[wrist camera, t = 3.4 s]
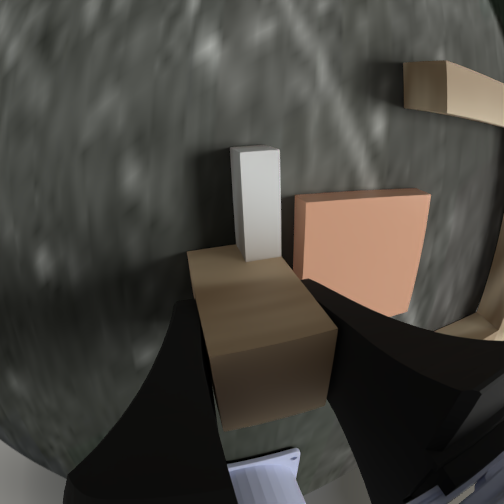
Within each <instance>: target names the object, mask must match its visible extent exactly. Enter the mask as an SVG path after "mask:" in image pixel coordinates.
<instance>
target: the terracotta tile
mask: <svg viewBox="0 0 504 504" xmlns="http://www.w3.org/2000/svg"><path fill="white" fill-rule="evenodd" d="M430 198H431V194H428V193H426V192H424V191H421V190H419V189H417V188H408V189H383V190H363V191H345V192H329V193H315V194H302V195H295V214H294V253H293V272H294V273H295V274H296V276H297V277H298V278H299V279H300V280H303V279H308V278H309V279H311V280H313V281H316V282H318V283H320V284H322V285H324V286H325V287H327V288H329V289H331V290H333V291H335V292H337V293H339V294H341V295H343V296H345V297H347V298H349V299H351V300H353V301H355V302H357V303H359V304H361V305H363V306H365V307H367V308H369V309H371V310H374V311H376V312H378V313H381V314H383V315H385V316H388V317H391V316H394V315H397V314H401V313H404V312H407V311H408V307H409V303H410V299H411V295H412V291H413V287H414V283H415V279H416V275H417V270H418V266H419V261H420V256H421V251H422V246H423V241H424V236H425V230H426V224H427V218H428V212H429V205H430Z"/></svg>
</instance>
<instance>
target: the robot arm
mask: <svg viewBox="0 0 504 504" xmlns="http://www.w3.org/2000/svg"><path fill="white" fill-rule="evenodd" d="M300 281H301V282H302V283H303V284H304V286H305V287H306V288H307V289H308V291H309V292H310V293H311V294H312V296H313V297H314V298H315V300H316V301H317V302H318V303H319V305H320V306H321V307H322V308H323V310H324V311H325V312H326V314H327V315H328V316H329V317H330V319H331V320H332V321H333V323H334V324H335V325H336V326H337V328H338V333H337V339H336V346H335V352H334V359H333V365H332V371H331V376H330V382H329V387H328V393H327V400H328V402H329V403H330V405H331V407H332V409H333V410H334V412H335V414H336V416H337V418H338V421H339V423H340V425H341V427H342V429H343V431H344V434H345V436H346V438H347V440H348V443H349V445H350V447H351V450H352V452H353V454H354V457H355V459H356V462H357V464H358V467H359V469H360V472H361V474H362V477H363V480H364V482H365V485H366V488H367V491H368V494H369V497H370V500H371V503H372V504H448V503H449V502H451V501H452V500H453V499H455V498H456V497H458V496H459V495H460V494H462V493H463V492H464V491H466V490H467V489H468V488H470V487H471V486H472V485H473V484H475V483H476V484H475V491H474V492H473V493H471V494H470V495H469V496H468V497H466V498H465V499H464V500H463V501H462V502H461V503H459V504H504V341H495V340H479V339H471V338H464V337H458V336H452V335H447V334H442V333H438V332H434V331H430V330H426V329H423V328H419V327H416V326H413V325H410V324H407V323H404V322H401V321H398V320H395V319H393V318H390V317H388V316H385V315H383V314H381V313H378V312H376V311H374V310H371V309H369V308H367V307H365V306H363V305H361V304H359V303H357V302H355V301H353V300H351V299H349V298H347V297H345V296H343V295H341V294H339V293H337V292H335V291H333V290H331V289H329V288H327V287H325V286H324V285H322V284H320V283H318V282H316V281H313V280H311V279H309V278H308V279H303V280H300ZM299 459H300V451H299V449H298V448H292V449H289V450H285V451H282V452H278V453H274V454H270V455H266V456H262V457H258V458H254V459H249V460H245V461H240V462H235V463H230V464H227V463H226V459H225V456H224V452H223V448H222V445H221V441H220V437H219V433H218V426H217V419H216V411H215V404H214V396H213V388H212V382H211V377H210V371H209V366H208V361H207V356H206V350H205V345H204V339H203V333H202V328H201V322H200V316H199V311H198V307H197V303H196V299H189V300H183V301H177V302H176V303H175V305H174V309H173V314H172V318H171V321H170V324H169V328H168V330H167V333H166V336H165V338H164V341H163V344H162V346H161V349H160V351H159V353H158V355H157V357H156V360H155V362H154V364H153V366H152V368H151V370H150V372H149V374H148V376H147V378H146V380H145V381H144V383H143V385H142V386H141V388H140V390H139V392H138V393H137V395H136V396H135V398H134V399H133V401H132V402H131V404H130V405H129V407H128V408H127V410H126V411H125V412H124V414H123V415H122V417H121V418H120V419H119V421H118V422H117V423H116V424H115V425H114V427H113V428H112V429H111V430H110V431H109V433H108V434H107V435H106V436H105V438H104V439H103V440H102V441H101V442H100V443H99V445H98V446H97V447H96V448H95V449H94V450H93V451H92V452H91V453H90V454H89V455H88V456H87V457H86V458H85V459H84V460H83V461H82V462H81V463H80V464H79V465H78V466H77V467H76V468H75V469H74V470H72V471H71V472H70V473H69V474H68V475H67V481H66V486H65V490H64V498H63V504H306V502H305V500H304V498H303V495H302V493H301V491H300V488H299V486H298V484H297V481H296V475H297V470H298V464H299Z"/></svg>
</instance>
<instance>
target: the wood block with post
mask: <svg viewBox="0 0 504 504" xmlns="http://www.w3.org/2000/svg"><path fill="white" fill-rule="evenodd" d="M230 160H231V176H232V192H233V207H234V222H235V236H236V244H234V245H227V246H221V247H214V248H207V249H201V250H194V251H187V257H188V264H189V270H190V277H191V283H192V290H193V296H194V299H196V303H197V307H198V311H199V316H200V322H201V328H202V333H203V339H204V345H205V350H206V356H207V361H208V366H209V371H210V377H211V382H212V387H213V391H214V395H215V399H216V403H217V407H218V411H219V415H220V419H221V423H222V427H223V430H224V432H225V431H230V430H235V429H240V428H244V427H249V426H253V425H257V424H262V423H266V422H270V421H274V420H278V419H281V418H285V417H289V416H292V415H296V414H299V413H303V412H306V411H310V410H313V409H316V408H319V407H322V406H325V403H326V398H327V393H328V387H329V382H330V376H331V371H332V365H333V359H334V352H335V346H336V339H337V333H338V328H337V326H336V325H335V324H334V323H333V321H332V320H331V319H330V317H329V316H328V315H327V314H326V312H325V311H324V310H323V308H322V307H321V306H320V305H319V303H318V302H317V301H316V300H315V298H314V297H313V296H312V294H311V293H310V292H309V291H308V289H307V288H306V287H305V286H304V284H303V283H302V282H301V281H300V279H299V278H298V277H297V276H296V274H295V273H294V272H293V270H292V269H291V268H290V267H289V265H288V264H287V263H286V262H285V260H284V259H283V258H282V257H281V187H280V150H279V149H276V148H273V147H270V146H267V145H252V146H239V147H230Z"/></svg>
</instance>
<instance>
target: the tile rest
mask: <svg viewBox="0 0 504 504" xmlns="http://www.w3.org/2000/svg"><path fill="white" fill-rule="evenodd" d="M403 78H404V108H406V109H413V110H420V111H426V112H432V113H438V114H444V115H449V116H454V117H459V118H464V119H469V120H473V121H478V122H482V123H486V124H490V125H494V126H498V127H502V128H504V84H503V83H501V82H499V81H497V80H494V79H492V78H490V77H488V76H485V75H483V74H480V73H478V72H476V71H473V70H471V69H468V68H465V67H463V66H460V65H457V64H455V63H452V62H449V61H421V62H406V63H403ZM434 332H438V333H442V334H447V335H452V336H458V337H464V338H471V339H479V340H495V341H503V340H504V215H503V220H502V225H501V230H500V234H499V238H498V243H497V247H496V251H495V255H494V258H493V262H492V266H491V269H490V273H489V276H488V279H487V283H486V286H485V289H484V292H483V295H482V298H481V301H480V304H479V307H478V310H477V312H476V313H474V314H472V315H469V316H467V317H465V318H463V319H461V320H459V321H456V322H454V323H452V324H450V325H447V326H445V327H443V328H440V329H438V330H436V331H434Z"/></svg>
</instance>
